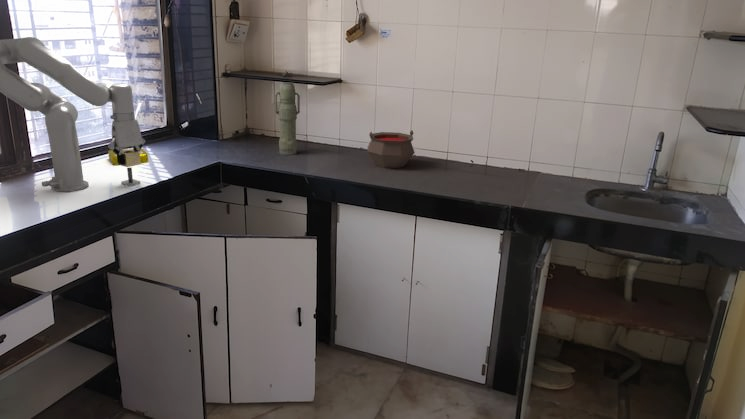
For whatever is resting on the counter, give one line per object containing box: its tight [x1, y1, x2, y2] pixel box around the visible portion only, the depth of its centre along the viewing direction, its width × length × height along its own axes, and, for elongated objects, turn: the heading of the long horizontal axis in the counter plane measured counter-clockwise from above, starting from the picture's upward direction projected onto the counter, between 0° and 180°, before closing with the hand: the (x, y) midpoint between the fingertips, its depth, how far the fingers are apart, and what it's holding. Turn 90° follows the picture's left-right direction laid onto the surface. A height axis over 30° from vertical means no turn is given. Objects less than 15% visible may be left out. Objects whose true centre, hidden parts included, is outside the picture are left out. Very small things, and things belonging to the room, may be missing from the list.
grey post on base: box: [121, 167, 141, 187], centre depth 222 cm, size 5×5×6 cm
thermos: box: [274, 81, 301, 156], centre depth 278 cm, size 9×12×35 cm
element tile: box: [107, 147, 149, 166], centre depth 257 cm, size 15×15×5 cm
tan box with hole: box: [117, 150, 142, 168], centre depth 220 cm, size 6×6×5 cm
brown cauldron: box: [367, 129, 416, 169], centre depth 267 cm, size 24×24×16 cm
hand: (129, 162), depth 220 cm, fingers closed on tan box with hole, 6 cm apart
